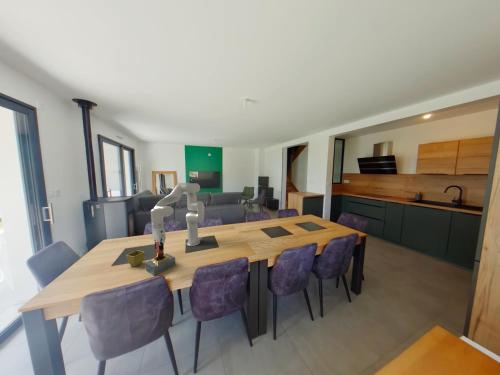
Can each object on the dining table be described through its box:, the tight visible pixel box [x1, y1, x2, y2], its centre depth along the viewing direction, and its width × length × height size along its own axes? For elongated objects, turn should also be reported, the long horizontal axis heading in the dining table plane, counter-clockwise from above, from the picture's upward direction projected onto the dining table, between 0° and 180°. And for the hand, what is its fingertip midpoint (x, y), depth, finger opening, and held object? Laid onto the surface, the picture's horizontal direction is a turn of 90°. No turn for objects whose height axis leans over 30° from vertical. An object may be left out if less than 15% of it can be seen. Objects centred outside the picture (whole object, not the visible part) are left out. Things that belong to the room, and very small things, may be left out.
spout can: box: [156, 240, 165, 258], centre depth 124 cm, size 5×5×15 cm
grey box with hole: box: [144, 253, 176, 276], centre depth 125 cm, size 16×12×8 cm
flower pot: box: [125, 250, 145, 267], centre depth 130 cm, size 9×9×9 cm
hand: (159, 248), depth 124 cm, fingers closed on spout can, 4 cm apart
